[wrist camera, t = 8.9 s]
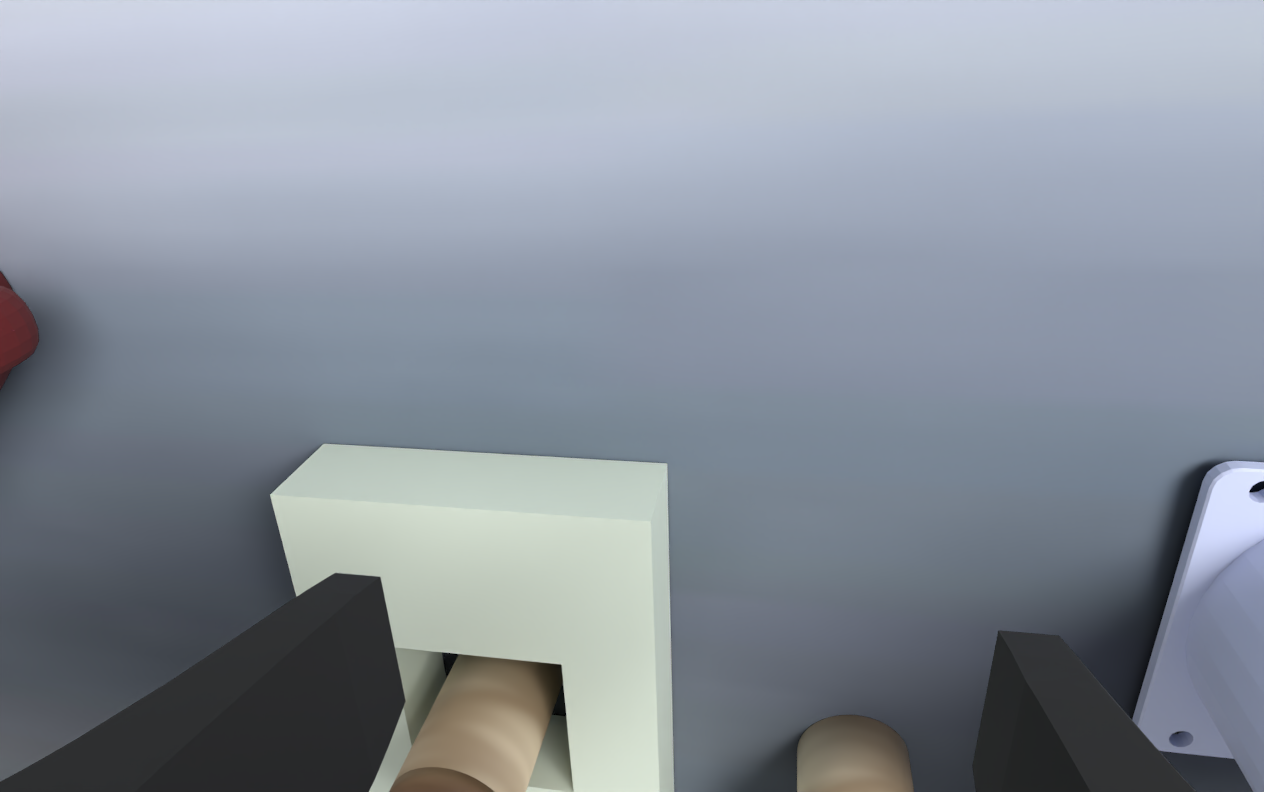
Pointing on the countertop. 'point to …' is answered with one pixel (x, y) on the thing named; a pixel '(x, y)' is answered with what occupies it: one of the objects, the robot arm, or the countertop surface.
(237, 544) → the countertop surface
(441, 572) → the board
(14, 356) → the mug
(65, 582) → the countertop surface
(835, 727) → the dowel short
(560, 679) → the dowel medium
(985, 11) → the countertop surface
